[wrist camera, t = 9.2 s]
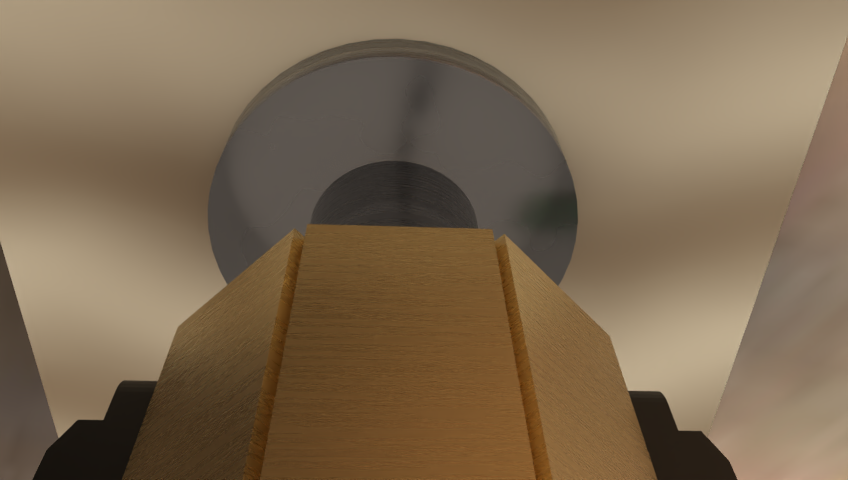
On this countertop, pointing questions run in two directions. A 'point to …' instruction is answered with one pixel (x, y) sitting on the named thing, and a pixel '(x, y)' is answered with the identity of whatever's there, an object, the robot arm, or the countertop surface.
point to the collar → (391, 369)
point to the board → (440, 24)
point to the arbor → (392, 155)
